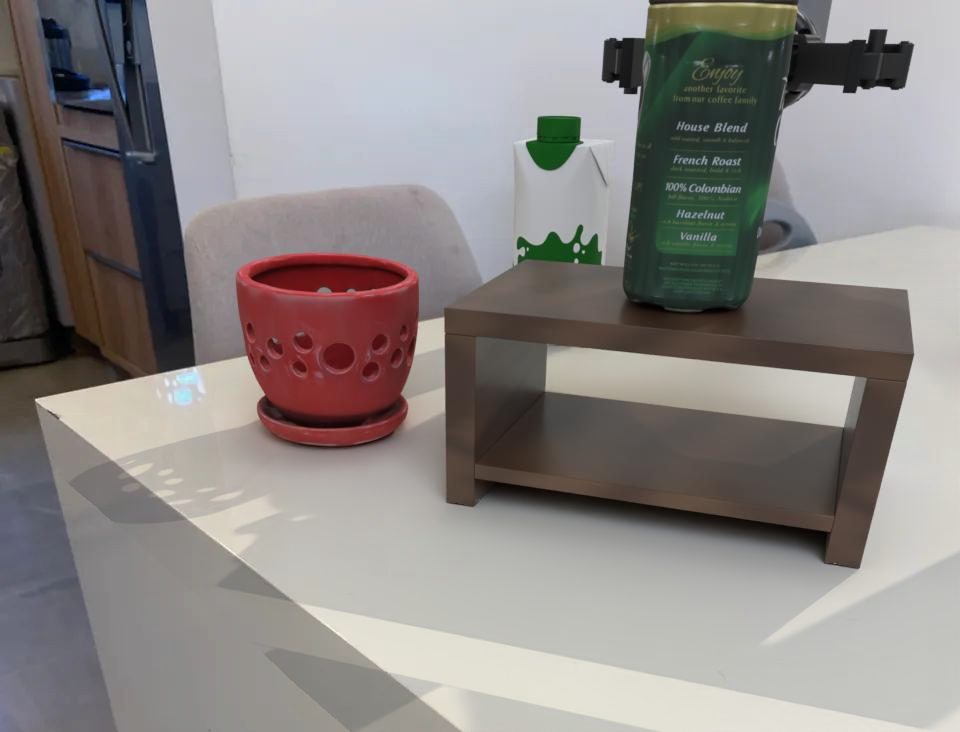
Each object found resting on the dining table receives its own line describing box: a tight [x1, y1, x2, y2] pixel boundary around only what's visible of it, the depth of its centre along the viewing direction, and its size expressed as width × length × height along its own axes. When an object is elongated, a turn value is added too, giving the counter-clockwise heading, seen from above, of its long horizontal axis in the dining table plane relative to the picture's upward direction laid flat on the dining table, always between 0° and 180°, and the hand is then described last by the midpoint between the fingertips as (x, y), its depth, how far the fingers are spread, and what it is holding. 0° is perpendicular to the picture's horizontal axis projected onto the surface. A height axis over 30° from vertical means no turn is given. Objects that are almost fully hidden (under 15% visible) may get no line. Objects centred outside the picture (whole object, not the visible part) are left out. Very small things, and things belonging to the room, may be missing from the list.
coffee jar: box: [623, 0, 799, 313], centre depth 53 cm, size 10×8×19 cm
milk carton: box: [512, 115, 617, 267], centre depth 93 cm, size 9×9×20 cm
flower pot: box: [235, 252, 420, 447], centre depth 71 cm, size 13×13×12 cm
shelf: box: [443, 259, 915, 569], centre depth 62 cm, size 26×16×12 cm, turn 70°
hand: (736, 64), depth 57 cm, fingers open, 13 cm apart
